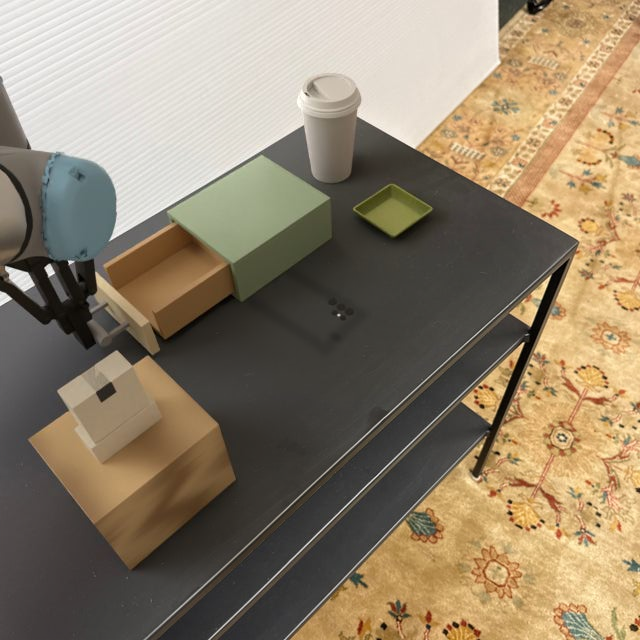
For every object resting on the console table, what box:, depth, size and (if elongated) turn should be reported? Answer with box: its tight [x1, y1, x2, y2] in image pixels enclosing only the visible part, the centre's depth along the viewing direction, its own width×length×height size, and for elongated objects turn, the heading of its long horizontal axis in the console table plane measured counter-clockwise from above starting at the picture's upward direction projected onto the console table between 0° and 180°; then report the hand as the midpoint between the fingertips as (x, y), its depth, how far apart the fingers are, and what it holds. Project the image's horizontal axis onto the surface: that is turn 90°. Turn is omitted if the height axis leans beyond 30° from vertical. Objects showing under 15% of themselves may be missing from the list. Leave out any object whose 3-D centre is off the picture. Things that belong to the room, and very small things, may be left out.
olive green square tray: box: [352, 183, 434, 239], centre depth 97 cm, size 9×9×2 cm
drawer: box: [87, 222, 236, 356], centre depth 85 cm, size 21×13×6 cm, turn 134°
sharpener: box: [56, 349, 162, 464], centre depth 59 cm, size 7×3×9 cm, turn 134°
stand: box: [28, 355, 237, 571], centre depth 67 cm, size 14×12×12 cm
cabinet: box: [166, 154, 333, 303], centre depth 92 cm, size 18×15×8 cm
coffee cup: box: [296, 72, 363, 184], centre depth 100 cm, size 10×10×15 cm
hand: (86, 340), depth 82 cm, fingers closed
